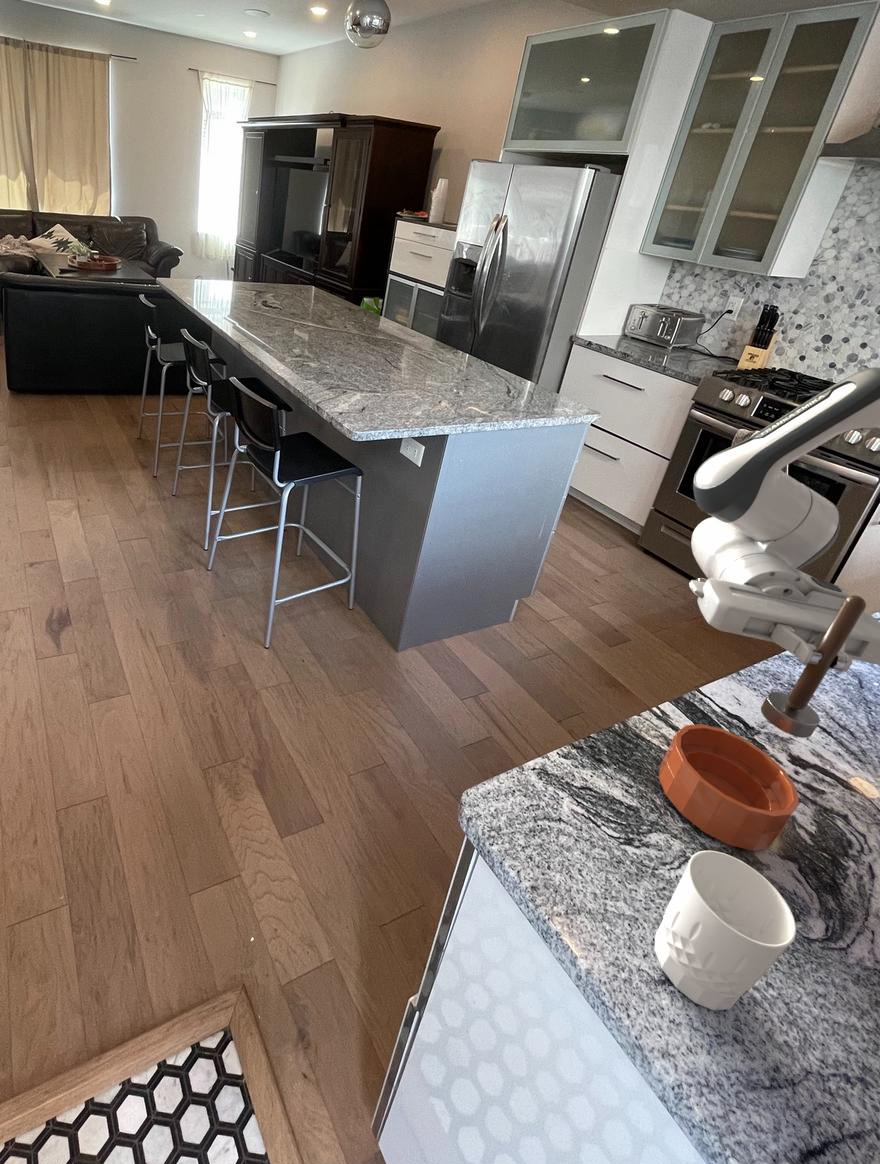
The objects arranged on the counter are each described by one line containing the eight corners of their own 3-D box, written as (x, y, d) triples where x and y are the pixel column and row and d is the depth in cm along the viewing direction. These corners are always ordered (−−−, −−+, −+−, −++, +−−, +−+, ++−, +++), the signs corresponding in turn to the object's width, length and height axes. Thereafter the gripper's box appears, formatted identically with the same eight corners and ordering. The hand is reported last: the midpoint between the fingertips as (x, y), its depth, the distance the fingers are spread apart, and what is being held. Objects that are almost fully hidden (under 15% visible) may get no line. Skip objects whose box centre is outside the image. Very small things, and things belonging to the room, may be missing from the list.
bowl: (743, 773, 79) (763, 738, 76) (797, 866, 67) (823, 828, 65) (643, 750, 80) (660, 714, 78) (679, 837, 69) (701, 798, 66)
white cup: (649, 903, 61) (688, 833, 57) (741, 955, 58) (790, 885, 54) (644, 979, 55) (688, 906, 51) (747, 1043, 51) (803, 970, 48)
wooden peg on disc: (796, 709, 77) (869, 588, 70) (821, 742, 72) (902, 616, 65) (752, 699, 77) (819, 578, 70) (774, 731, 73) (848, 605, 66)
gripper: (693, 556, 83) (742, 619, 70) (858, 590, 81) (940, 661, 68) (675, 596, 85) (719, 663, 72) (835, 630, 83) (910, 705, 70)
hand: (828, 662), depth 70 cm, fingers closed on wooden peg on disc
